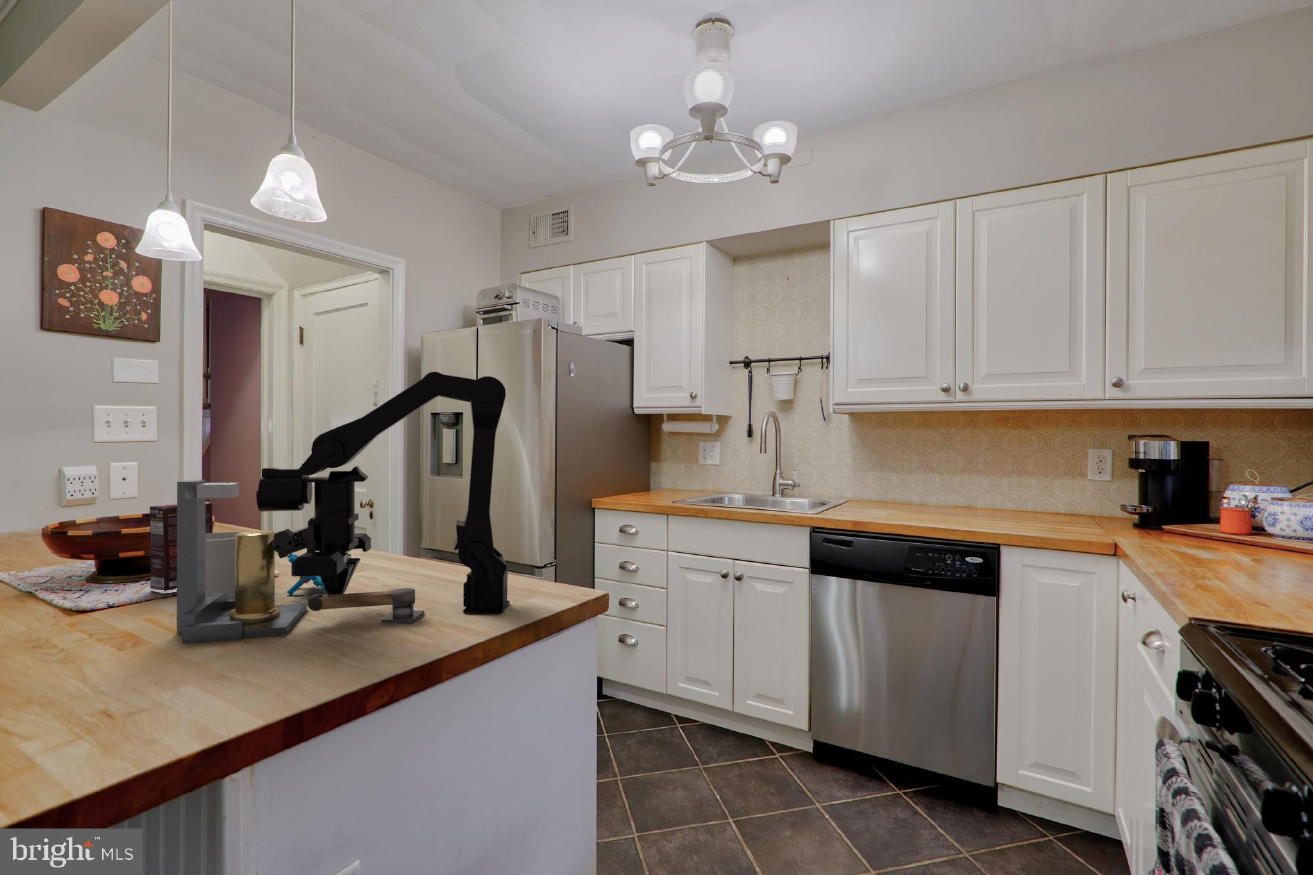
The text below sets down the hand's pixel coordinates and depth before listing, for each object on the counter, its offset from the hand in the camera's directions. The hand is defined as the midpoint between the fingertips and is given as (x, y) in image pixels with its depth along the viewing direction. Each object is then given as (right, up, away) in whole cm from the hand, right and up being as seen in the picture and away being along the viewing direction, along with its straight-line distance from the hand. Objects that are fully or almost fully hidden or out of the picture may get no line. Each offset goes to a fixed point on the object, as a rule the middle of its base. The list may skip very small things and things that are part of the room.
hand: (334, 606), depth 100 cm
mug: (-25, -2, +13) cm, 29 cm away
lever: (+5, 0, -1) cm, 5 cm away
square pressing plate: (+11, -2, +1) cm, 11 cm away
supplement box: (-37, -1, +17) cm, 41 cm away
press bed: (-13, -2, -4) cm, 13 cm away
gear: (-13, -2, +16) cm, 20 cm away
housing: (-11, -1, -3) cm, 11 cm away
